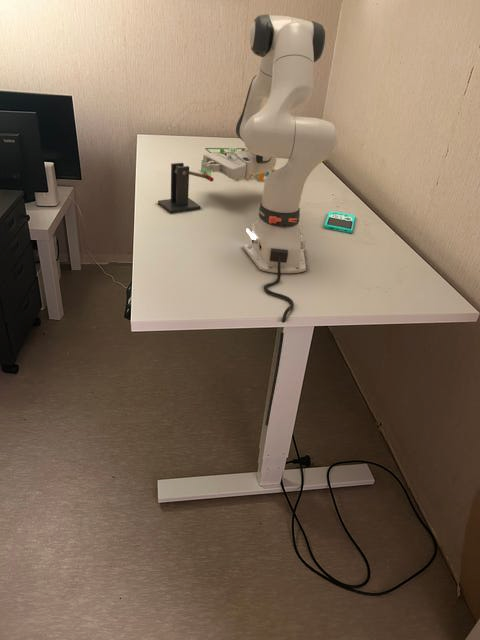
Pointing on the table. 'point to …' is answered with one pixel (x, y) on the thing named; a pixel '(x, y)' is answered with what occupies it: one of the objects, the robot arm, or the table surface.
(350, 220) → the handheld game console
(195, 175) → the lever
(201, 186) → the table surface
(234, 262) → the table surface
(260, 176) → the house model
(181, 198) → the bracket
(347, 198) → the table surface
